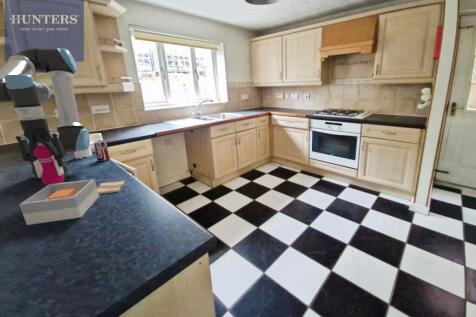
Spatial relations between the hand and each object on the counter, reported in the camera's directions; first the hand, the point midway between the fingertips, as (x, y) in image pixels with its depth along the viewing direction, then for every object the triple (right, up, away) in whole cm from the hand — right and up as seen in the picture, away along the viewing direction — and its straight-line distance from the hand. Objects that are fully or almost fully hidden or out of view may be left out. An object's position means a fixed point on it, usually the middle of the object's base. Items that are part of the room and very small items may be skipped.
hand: (51, 175), depth 90 cm
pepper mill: (0, -6, +2) cm, 6 cm away
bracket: (-28, +10, +67) cm, 74 cm away
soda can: (-9, +6, +49) cm, 51 cm away
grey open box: (+13, -12, -9) cm, 20 cm away
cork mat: (+20, -6, +7) cm, 22 cm away
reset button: (+13, -10, -10) cm, 19 cm away
